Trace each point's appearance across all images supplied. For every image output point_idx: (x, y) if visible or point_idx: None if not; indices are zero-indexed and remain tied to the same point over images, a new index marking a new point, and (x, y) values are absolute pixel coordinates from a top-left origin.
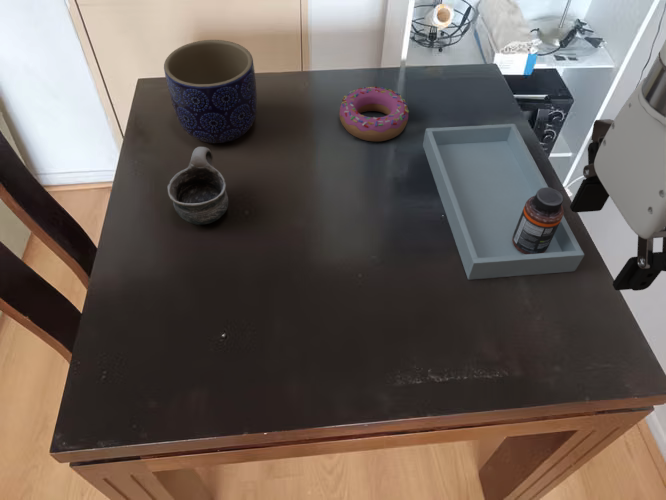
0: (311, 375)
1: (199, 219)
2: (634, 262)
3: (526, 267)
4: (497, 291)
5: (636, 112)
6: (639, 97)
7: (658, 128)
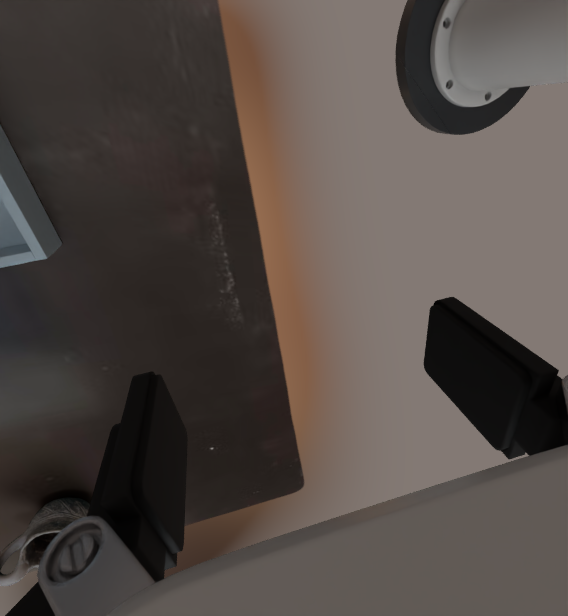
0: (241, 385)
1: None
2: (524, 452)
3: (3, 154)
4: (70, 201)
5: None
6: None
7: None
